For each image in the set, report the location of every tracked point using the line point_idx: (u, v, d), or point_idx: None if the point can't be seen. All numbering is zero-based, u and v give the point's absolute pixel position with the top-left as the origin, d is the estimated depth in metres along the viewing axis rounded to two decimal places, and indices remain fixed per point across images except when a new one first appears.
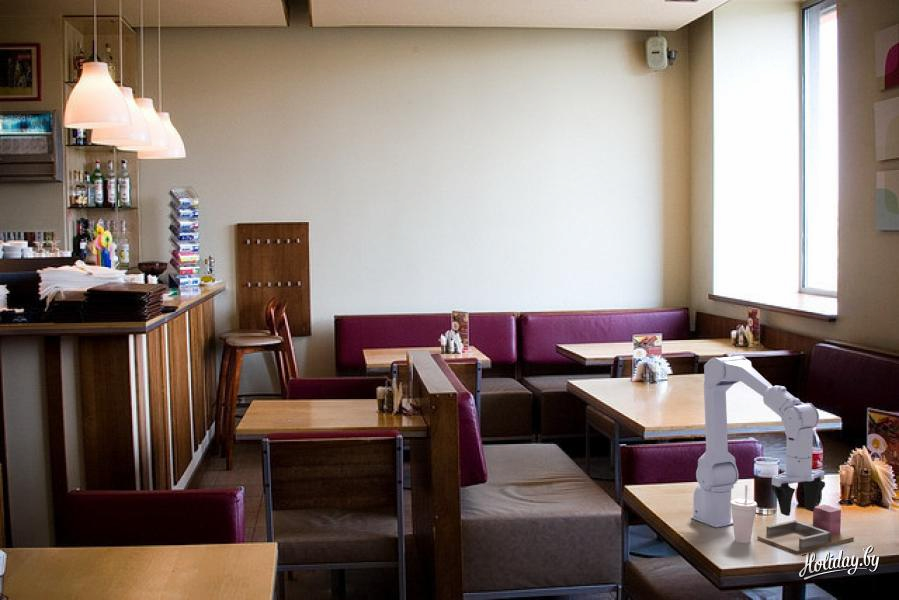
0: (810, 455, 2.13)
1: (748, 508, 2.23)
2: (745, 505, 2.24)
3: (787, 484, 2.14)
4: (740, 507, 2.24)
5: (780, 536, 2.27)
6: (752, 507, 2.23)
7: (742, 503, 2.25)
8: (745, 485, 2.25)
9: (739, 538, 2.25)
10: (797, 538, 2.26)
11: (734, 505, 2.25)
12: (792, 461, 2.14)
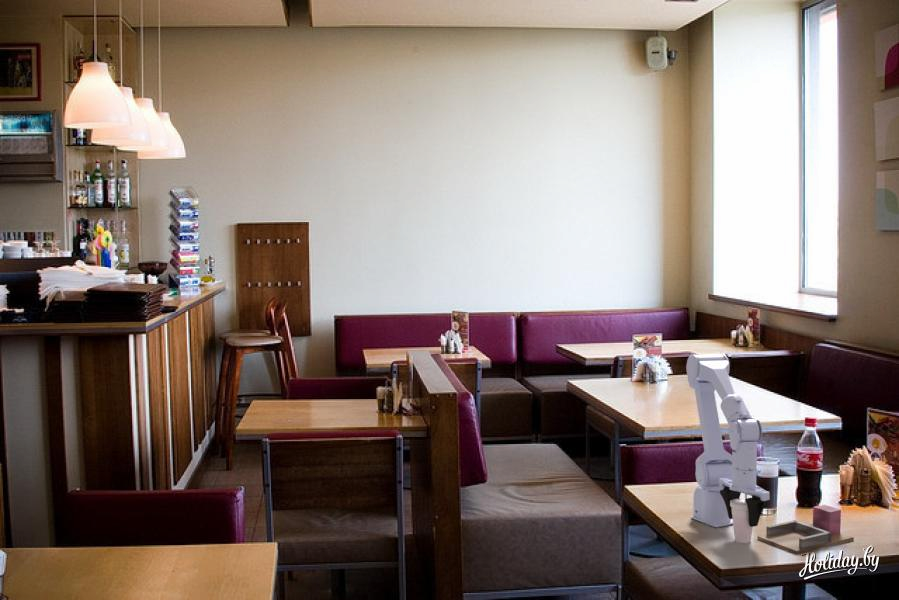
0: (752, 468, 2.23)
1: None
2: (745, 505, 2.24)
3: (728, 488, 2.29)
4: (740, 507, 2.24)
5: (780, 536, 2.27)
6: None
7: (742, 503, 2.25)
8: None
9: (739, 538, 2.25)
10: (797, 538, 2.26)
11: (734, 505, 2.25)
12: None
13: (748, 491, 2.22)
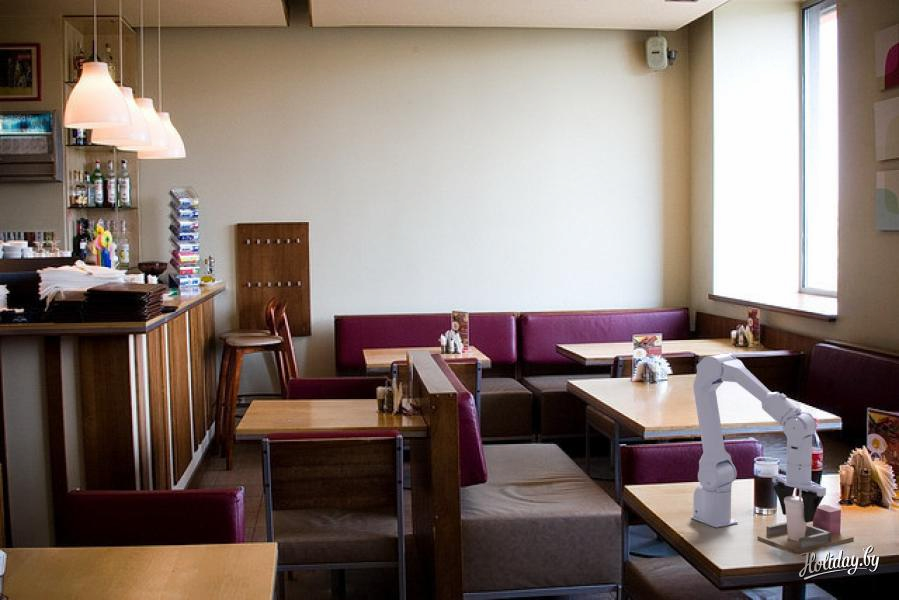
0: (811, 462, 2.23)
1: (802, 506, 2.22)
2: (799, 503, 2.23)
3: (782, 484, 2.28)
4: (794, 505, 2.23)
5: (780, 536, 2.27)
6: None
7: (796, 501, 2.24)
8: None
9: (792, 535, 2.25)
10: None
11: (788, 502, 2.24)
12: None
13: (804, 487, 2.21)
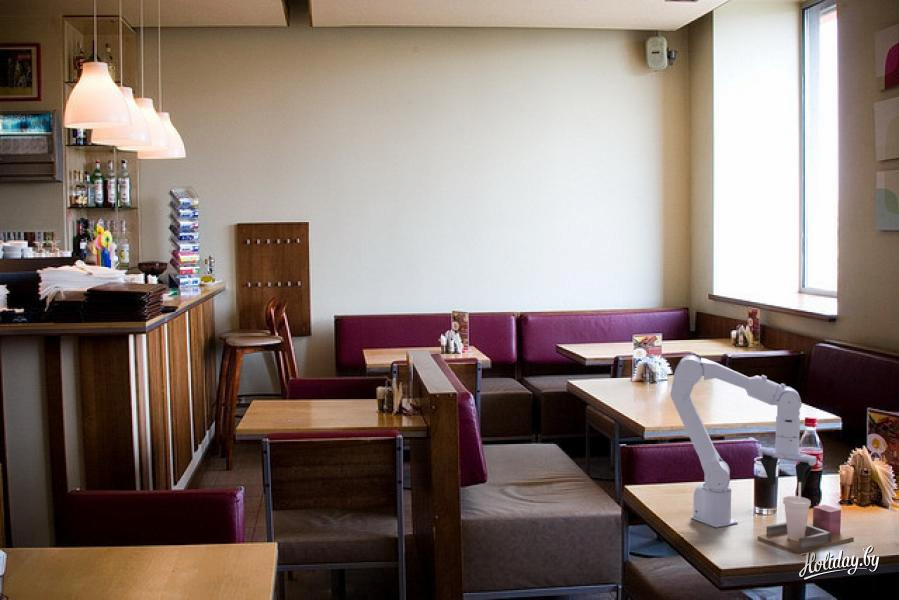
0: None
1: (802, 505, 2.22)
2: (799, 502, 2.23)
3: (769, 456, 2.38)
4: (794, 504, 2.23)
5: (780, 536, 2.27)
6: (806, 505, 2.23)
7: (795, 500, 2.24)
8: (799, 482, 2.25)
9: (792, 535, 2.25)
10: None
11: (787, 502, 2.24)
12: None
13: (796, 457, 2.31)
